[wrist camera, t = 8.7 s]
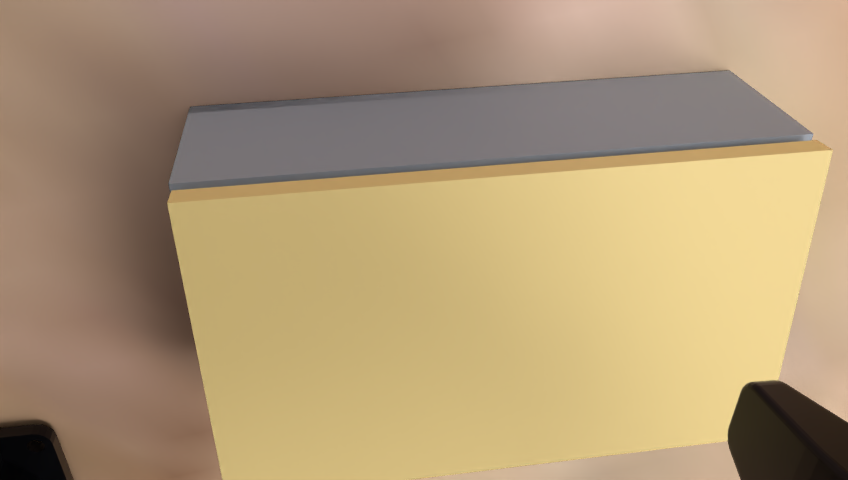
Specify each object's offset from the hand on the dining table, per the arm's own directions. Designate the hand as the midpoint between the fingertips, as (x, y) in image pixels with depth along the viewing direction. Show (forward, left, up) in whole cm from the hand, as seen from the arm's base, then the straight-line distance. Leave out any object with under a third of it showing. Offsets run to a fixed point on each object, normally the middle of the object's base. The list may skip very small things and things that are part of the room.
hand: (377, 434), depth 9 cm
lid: (-5, -3, -7) cm, 9 cm away
